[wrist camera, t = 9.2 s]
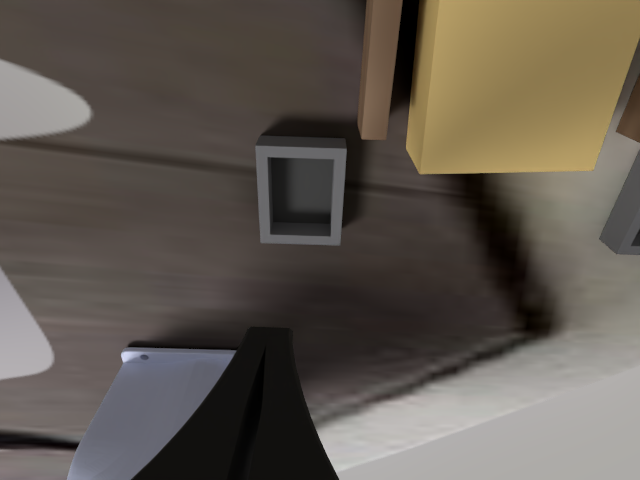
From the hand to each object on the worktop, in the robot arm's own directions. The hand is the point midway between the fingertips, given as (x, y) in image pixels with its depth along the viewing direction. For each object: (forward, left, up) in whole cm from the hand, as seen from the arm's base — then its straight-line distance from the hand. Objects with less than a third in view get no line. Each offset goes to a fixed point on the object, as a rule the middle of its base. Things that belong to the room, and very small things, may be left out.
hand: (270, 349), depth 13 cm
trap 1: (+1, +2, -9) cm, 10 cm away
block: (+9, +7, -10) cm, 15 cm away
